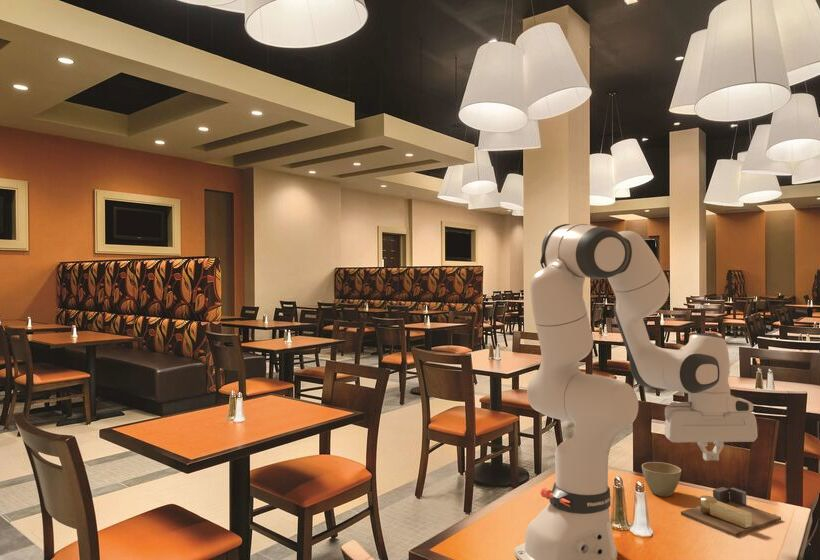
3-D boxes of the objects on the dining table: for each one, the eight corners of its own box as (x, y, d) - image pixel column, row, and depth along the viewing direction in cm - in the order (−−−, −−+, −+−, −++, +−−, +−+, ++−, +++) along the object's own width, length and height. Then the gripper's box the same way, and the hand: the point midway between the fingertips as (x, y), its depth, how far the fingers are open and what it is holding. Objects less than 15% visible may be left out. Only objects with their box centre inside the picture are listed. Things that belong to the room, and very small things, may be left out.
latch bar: (697, 510, 138) (696, 497, 138) (706, 507, 140) (706, 494, 140) (743, 528, 128) (743, 514, 128) (753, 525, 129) (752, 511, 129)
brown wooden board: (735, 536, 126) (735, 533, 126) (680, 514, 139) (680, 511, 139) (781, 520, 134) (781, 517, 134) (725, 500, 147) (725, 497, 147)
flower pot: (677, 503, 146) (676, 476, 146) (638, 494, 152) (637, 469, 152) (685, 491, 154) (684, 465, 154) (647, 484, 160) (646, 459, 160)
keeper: (731, 509, 139) (731, 496, 139) (713, 502, 144) (712, 489, 144) (746, 505, 142) (746, 491, 142) (727, 498, 146) (727, 485, 146)
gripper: (670, 405, 128) (671, 464, 128) (760, 404, 127) (762, 463, 127) (659, 399, 134) (660, 456, 134) (745, 398, 133) (747, 455, 133)
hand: (710, 459), depth 131 cm, fingers closed
